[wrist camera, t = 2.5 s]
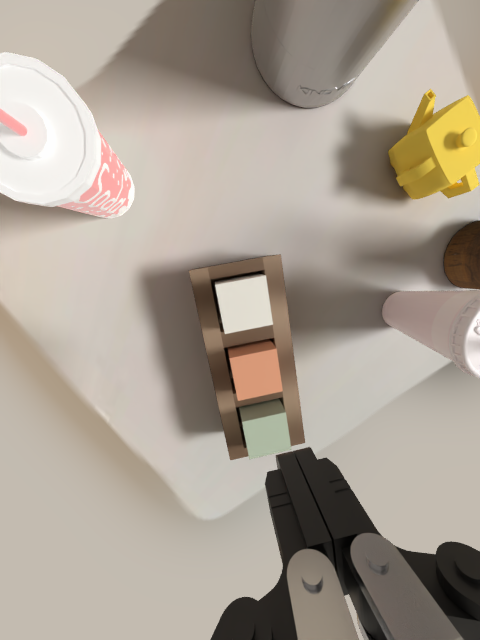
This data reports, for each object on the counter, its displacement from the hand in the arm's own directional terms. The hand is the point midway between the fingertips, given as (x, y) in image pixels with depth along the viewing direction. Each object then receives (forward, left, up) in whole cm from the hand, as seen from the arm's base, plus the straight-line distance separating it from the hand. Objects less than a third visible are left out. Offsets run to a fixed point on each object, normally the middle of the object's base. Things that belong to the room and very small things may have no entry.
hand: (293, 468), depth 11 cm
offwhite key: (-6, 0, -12) cm, 13 cm away
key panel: (0, 0, -15) cm, 15 cm away
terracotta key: (0, 0, -12) cm, 12 cm away
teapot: (-14, +17, -15) cm, 27 cm away
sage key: (+5, 0, -12) cm, 13 cm away
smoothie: (-1, +16, -15) cm, 22 cm away
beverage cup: (-16, -9, -15) cm, 24 cm away
